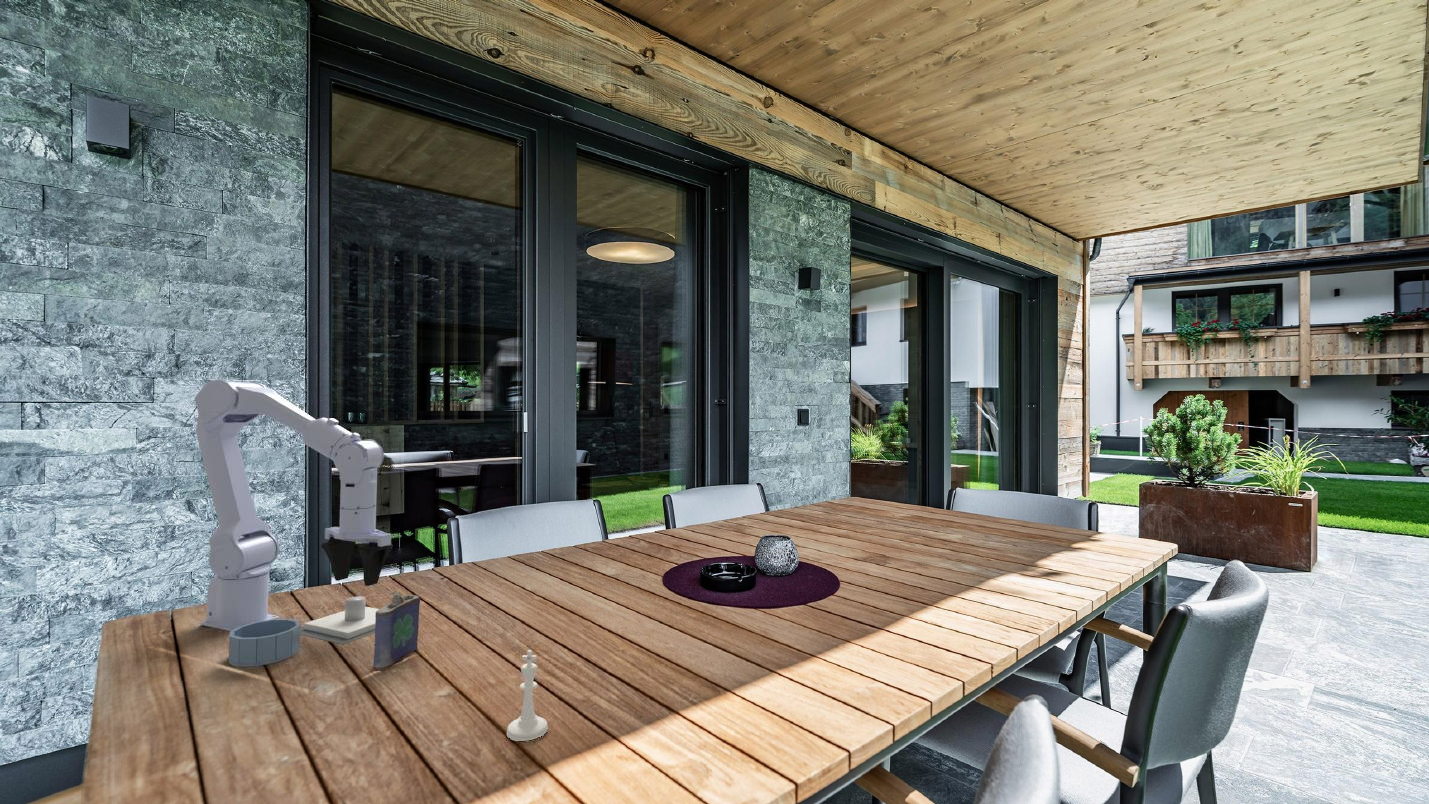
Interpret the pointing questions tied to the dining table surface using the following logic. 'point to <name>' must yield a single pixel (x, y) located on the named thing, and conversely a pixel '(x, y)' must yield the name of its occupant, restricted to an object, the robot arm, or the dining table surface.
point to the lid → (346, 620)
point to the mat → (331, 637)
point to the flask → (396, 630)
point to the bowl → (264, 642)
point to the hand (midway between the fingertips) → (356, 581)
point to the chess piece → (527, 707)
